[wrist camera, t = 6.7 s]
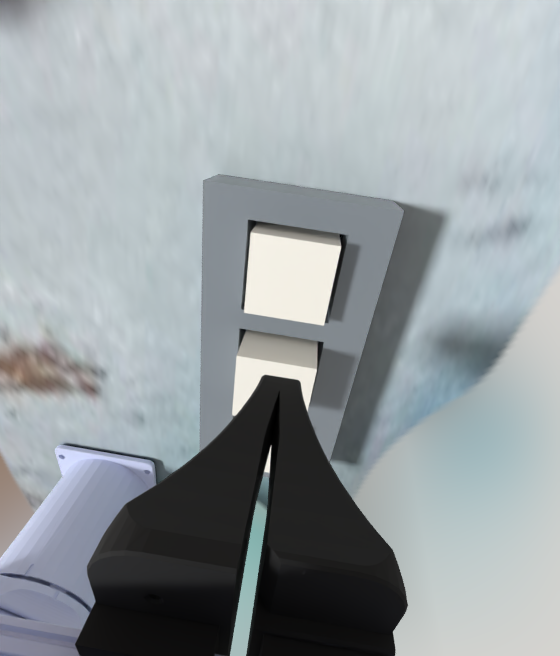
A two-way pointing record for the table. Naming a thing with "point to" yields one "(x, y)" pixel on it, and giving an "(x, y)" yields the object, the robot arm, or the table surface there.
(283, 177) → the table surface
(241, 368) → the middle button
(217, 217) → the button board
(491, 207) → the table surface
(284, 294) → the button
